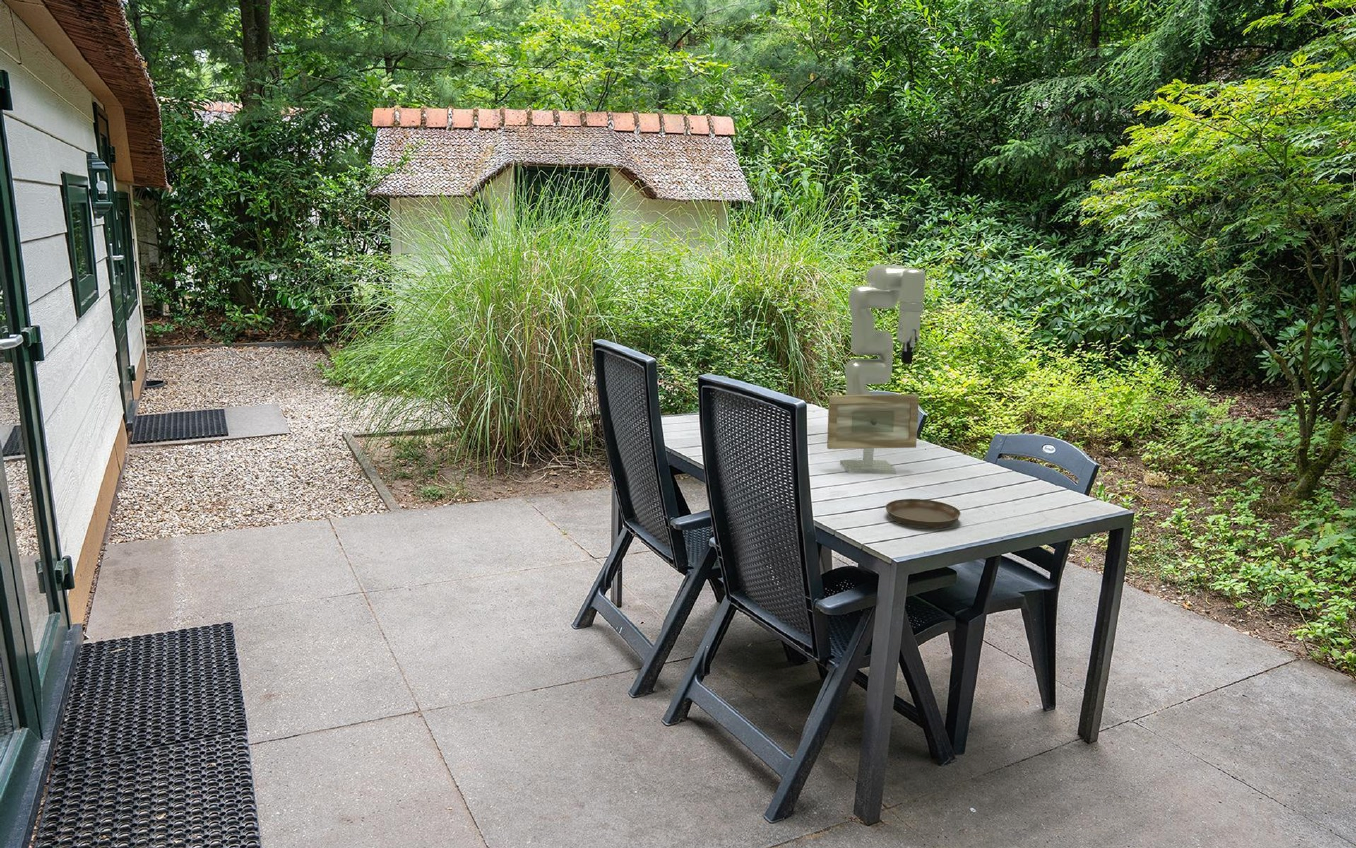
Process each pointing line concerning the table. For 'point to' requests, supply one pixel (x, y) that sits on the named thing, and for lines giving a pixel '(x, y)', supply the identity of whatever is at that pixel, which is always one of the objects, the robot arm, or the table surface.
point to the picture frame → (872, 421)
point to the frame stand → (868, 464)
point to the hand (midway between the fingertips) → (906, 362)
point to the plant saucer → (922, 513)
